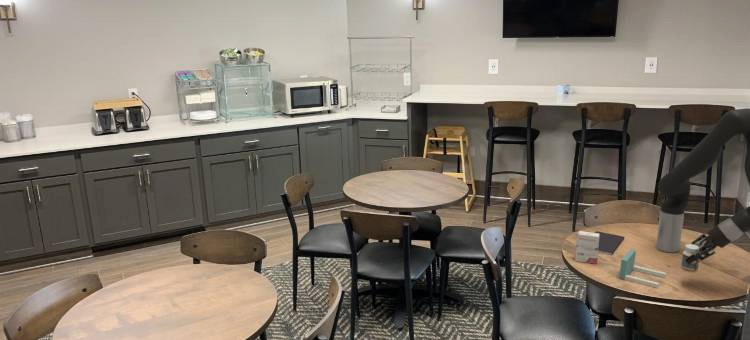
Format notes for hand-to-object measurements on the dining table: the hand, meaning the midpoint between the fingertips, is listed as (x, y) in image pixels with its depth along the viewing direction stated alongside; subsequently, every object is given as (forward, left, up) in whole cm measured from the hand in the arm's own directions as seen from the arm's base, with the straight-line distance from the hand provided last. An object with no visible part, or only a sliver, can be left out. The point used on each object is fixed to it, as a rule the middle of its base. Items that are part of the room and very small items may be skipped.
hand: (685, 258), depth 226 cm
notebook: (-38, -18, -11) cm, 43 cm away
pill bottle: (0, +2, -5) cm, 5 cm away
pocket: (-4, -13, -10) cm, 17 cm away
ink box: (-20, -30, -10) cm, 38 cm away
